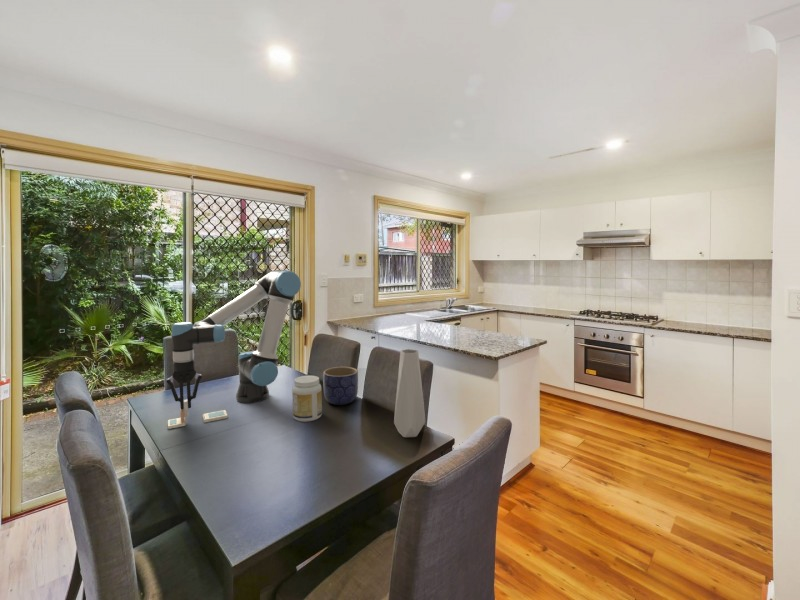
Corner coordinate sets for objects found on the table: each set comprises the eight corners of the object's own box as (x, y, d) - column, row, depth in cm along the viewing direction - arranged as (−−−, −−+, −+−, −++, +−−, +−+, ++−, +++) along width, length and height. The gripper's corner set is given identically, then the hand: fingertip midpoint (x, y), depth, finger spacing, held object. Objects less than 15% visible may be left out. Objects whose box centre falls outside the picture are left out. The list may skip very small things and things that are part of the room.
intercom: (184, 419, 158) (184, 406, 158) (185, 425, 153) (184, 412, 152) (168, 422, 155) (167, 409, 155) (168, 429, 149) (167, 415, 149)
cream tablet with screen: (225, 412, 167) (225, 409, 167) (227, 418, 161) (227, 415, 161) (202, 416, 162) (202, 413, 162) (203, 422, 156) (203, 419, 156)
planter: (365, 399, 183) (365, 369, 182) (342, 410, 170) (342, 378, 168) (339, 393, 192) (339, 364, 191) (316, 403, 178) (315, 372, 177)
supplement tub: (312, 409, 171) (311, 372, 169) (327, 416, 162) (326, 378, 161) (287, 416, 162) (286, 378, 161) (302, 425, 154) (301, 385, 152)
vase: (388, 429, 150) (388, 349, 147) (414, 425, 154) (415, 346, 151) (400, 443, 139) (400, 356, 136) (428, 437, 143) (429, 353, 140)
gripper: (200, 356, 160) (203, 409, 162) (165, 360, 153) (167, 416, 155) (202, 360, 154) (204, 415, 156) (164, 364, 147) (167, 422, 149)
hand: (186, 415), depth 155 cm, fingers closed
